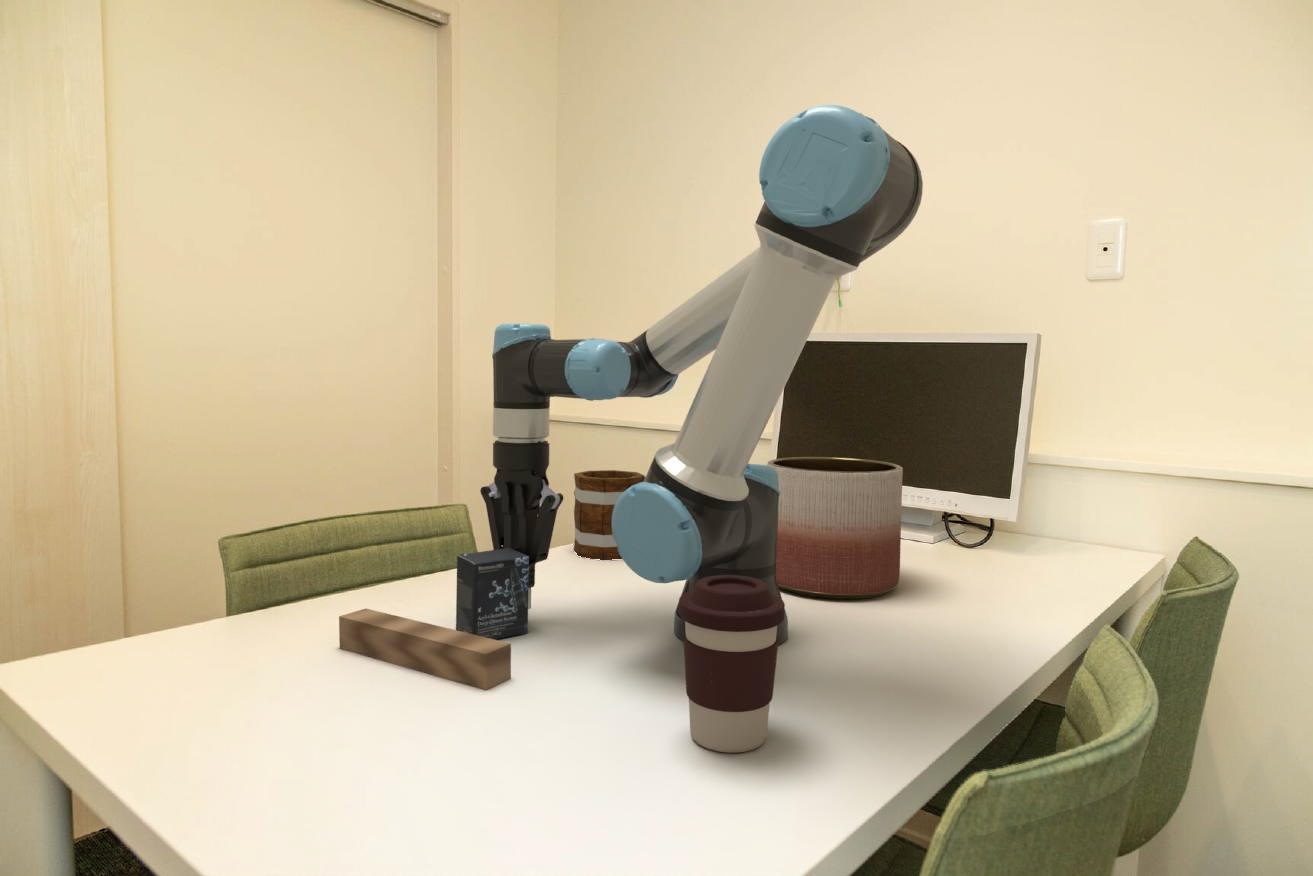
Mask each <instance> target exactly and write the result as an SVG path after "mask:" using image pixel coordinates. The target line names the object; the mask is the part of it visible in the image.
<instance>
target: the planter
mask: <svg viewBox="0 0 1313 876" xmlns="http://www.w3.org/2000/svg"><path fill="white" fill-rule="evenodd" d="M766 462H767V463H766V465H768V466H771V467H773V468H774V469H775V470H776V471H777V473H778V485H779V491H780V496H779V506H778V531H777V559H776V580H777V583H778V587H779V589H781V590H784V591H787V592H788V593H789V592H790V593H792V594H797V595H801V596H806V597H813V598H819V599H828V600H829V599H830V600H832V599H833V600H860V599H869V598H875V597H879V596H882V595H885V594H887V593H889V592H890V591H891V590H894V589H895V588H896V587H897V586H898V585H899V582H900V581H899V580H900V573H901V571H900V570H901V543H902V542H901V541H902V539H901V536H902V535H901V534H902V531H901V530H902V499H903V497H902V495H903V475H904V474H903V473H904V471H903V470H904V469H903V467H902V466H901V465H898V464H895V463H891V462H887V461H879V460H873V459H865V458H864V459H863V458H862V459H861V458H851V457H835V456H834V457H831V456H830V457H829V456H799V457H798V456H797V457H795V456H794V457H782V458H781V457H780V458H775V459H771V460H769V461H766Z"/></svg>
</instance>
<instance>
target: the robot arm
mask: <svg viewBox="0 0 1313 876" xmlns="http://www.w3.org/2000/svg"><path fill="white" fill-rule="evenodd" d="M759 166H760V167H759V173H758V178H759V184H760V186H761V195H762V196H763V197H762V198H763V200H764V202H763V204H762V206H761V209H760V211H759V213H758V215H757V219H756V220H755V223H754V228H755V231H756V234H757V236H758V239H759V245H760V246H758V247H757V248H756V249H755V250H754V251H751V253H750V254H748V255H746V256H745V257H744V258H742V259H741V260H740V261H738V262H737V263H736V264H734V265H733V266H732V267H730V268H729V269H728V270H726V271H725V272H723V273H722V274H721V275H719V276H718V277H717V278H715V279H714V280H713V281H711V282H710V283H708V284H707V285H706V286H705V287H702V289H701V290H699V291H698V292H696V293H695V294H693V295H692V296H691V297H690V298H688V299H687V300H685V301H684V302H682V303H681V304H680V305H679V306H677V307H676V308H674V309H673V310H672V311H670V312H669V313H668V314H666V315H665V316H664V317H662V318H661V319H660V320H658V321H657V322H655V323H654V324H653V325H651V326H650V327H649V328H647V329H646V330H645V331H643V332H641V334H639V335H638V336H637V337H635V338H634V339H632V340H630V341H626V342H625V341H615V340H610V339H609V340H608V339H603V338H595V337H593V338H586V339H585V338H582V339H581V338H580V339H576V338H574V339H554V338H552V337H551V329H550V327H549V326H548V325H546V324H538V323H501V324H499V325H497V327H496V328H495V330H494V338H493V349H492V350H493V352H492V353H491V356H492V365H493V366H492V367H493V371H492V372H493V373H492V374H493V375H492V376H493V383H492V385H493V387H492V388H493V408H492V412H493V413H492V415H493V416H492V435H493V436H494V437H495V438H497V439H496V440H494V442H493V443H492V466H493V467H494V468H495V469H496V472H495V475H494V477H493V481H492V483H489V485H486V486H482V487H481V488H480V494H481V497H482V499H483V500H484V503H485V507H486V513H487V519H488V526H489V531H490V535H491V542H492V548H493V549H492V550H498V549H504V548H511V549H514V550H516V551H518V552H520V553H522V554H525V555H527V556H529V584H528V610H530V609H532V588H534V587H535V584H536V577H535V576H536V565H537V563H540V562H543V561H546V560H547V559H548V556H549V553H550V548H551V542H552V538H553V531H554V528H555V523H556V518H557V512H558V510H559V509H560V507H561V504H562V503H563V501H564V495H563V494H562V493H561V492H560V493H559V492H558V493H556V492H554V490H552V488H550V486H549V485H550V482H549V479H548V475H547V470H548V468H549V466H550V443H549V441H548V440H546V438H548V437H549V436H550V407H551V398H557V397H558V398H566V399H567V398H568V399H580V400H586V401H590V402H591V401H592V402H593V401H604V400H614V399H616V398H645V399H646V398H653V397H655V396H661V395H664V394H666V393H667V392H669V391H670V390H672V389H673V387H674V386H675V384H676V382H677V380H678V378H679V375H680V374H681V373H683V372H684V371H686V370H687V369H689V368H690V367H692V366H693V365H695V364H696V363H698V362H700V361H701V360H702V359H704V358H705V357H707V356H709V355H710V354H711V353H712V352H713V355H712V358H711V359H710V362H709V364H708V367H707V369H706V370H705V373H704V376H703V377H702V380H701V382H700V385H699V386H698V390H697V391H696V393H695V396H694V398H693V400H692V403H691V405H690V408H689V409H688V412H687V414H686V417H685V419H684V421H683V423H682V425H681V428H680V430H679V432H678V434H677V437H676V439H675V441H674V442H673V443H671V444H669V445H665V446H662V447H660V448H659V449H658V450H657V451H656V452H655V454H654V455H653V459H652V462H651V464H650V466H649V468H648V470H647V472H646V475H645V477H644V482H640V483H638V484H635V485H633V486H631V487H630V488H629V489H627V490H626V491H624V492H623V493H622V494H621V496H620V497H619V498H618V500H617V502H616V504H615V506H614V509H613V514H612V533H613V538H614V540H615V541H616V543H617V546H618V552H619V554H620V556H621V557H622V559H623V560H622V561H623V562H624V563H625V565H626V566H627V567H628V568H629V569H630V570H631V571H632V572H634V573H635V574H636V575H637V576H639V577H640V578H642V579H644V580H646V581H649V582H651V583H656V584H669V583H673V582H680V581H682V582H683V581H685V582H684V585H683V589H682V592H681V594H680V597H681V596H682V595H683V594H684V593H686V592H688V591H691V590H693V589H694V587H695V584H696V582H697V581H698V580H700V579H702V578H705V577H710V576H717V575H738V576H746V577H752V578H755V579H758V580H761V581H763V582H765V583H766V584H767V585H768V587H769V590H770V592H771V594H774V595H776V596H778V597H780V598H781V599H782V600H783V598H782V597H783V596H782V594H781V592H780V588H779V587H778V583H777V580H776V559H777V531H778V506H779V496H780V491H779V485H778V473H777V471H776V470H775V469H774V468H773V467H771V466H768V465H767V464H766V465H765V464H756V463H750V460H751V458H752V456H753V454H754V452H755V449H756V447H757V445H758V444H759V441H760V439H761V437H762V436H763V433H764V432H765V429H766V426H767V424H768V422H769V421H770V419H771V416H772V413H773V412H774V410H775V408H776V407H777V406H776V405H777V404H778V401H779V400H780V397H781V395H782V393H783V391H784V390H785V387H786V384H787V383H788V381H789V378H790V376H791V374H792V373H793V370H794V367H795V365H796V364H797V361H798V360H799V357H800V355H801V353H802V351H803V349H804V346H805V345H806V342H807V341H808V339H809V337H810V335H811V332H812V331H813V328H814V326H815V324H816V322H817V320H818V317H819V315H820V314H821V311H822V310H823V307H824V304H825V303H826V301H827V299H828V297H829V294H830V293H831V290H832V288H833V286H834V284H835V281H837V279H839V278H841V277H842V276H845V275H848V274H849V273H852V272H854V271H857V269H858V268H859V266H860V264H861V263H863V262H865V261H866V260H867V259H868V258H870V257H872V256H873V255H874V254H876V253H878V252H879V251H881V250H883V249H884V248H885V247H886V246H889V245H890V244H891V243H892V242H894V241H895V240H896V239H897V238H898V237H899V236H900V235H902V234H903V233H904V231H906V229H908V227H909V226H910V224H911V223H912V222H913V220H914V218H915V217H916V215H917V213H918V211H919V208H920V206H921V202H922V197H923V189H924V187H923V186H924V183H923V176H922V171H921V168H920V165H919V163H918V161H917V159H916V157H915V156H914V155H913V153H912V152H911V151H910V150H909V149H908V148H907V147H906V146H905V145H904V144H902V143H901V142H900V141H898V140H896V139H895V138H893V136H891V135H890V134H889V133H888V132H887V131H885V130H884V129H883V128H882V126H880V124H879V123H878V122H877V121H875V120H874V119H873V118H871V117H869V116H866V115H865V114H863V113H862V112H858V111H856V110H854V109H851V108H849V107H847V106H843V105H842V106H841V105H837V104H823V105H818V106H813V107H810V108H808V109H806V110H803V111H802V112H800V113H798V114H796V115H794V116H792V117H791V118H790V119H788V120H787V121H786V122H784V123H783V124H782V125H781V127H779V128H778V129H777V131H775V133H774V135H773V136H772V137H771V138H770V140H769V142H768V143H767V146H766V147H765V149H764V151H763V153H762V157H761V161H760V165H759ZM673 617H674V618H673V632H674V635H676V636H677V637H678V638H679V639H680V640H681V641H683V642H684V633H685V632H686V629H685V621H684V620H683V619H682V618H681V617H680V616H679V601H678V603H677V605H676V608H675V612H674V616H673ZM788 629H789V619H788V614H787V611H786V610H785V612H784V620H783V622H782V623H781V624H779V625H777V634H776V636H777V638H778V646H779V645H781V644H783V643H784V642H785V641H786V640H788V637H789V636H788V635H789V634H788V633H789V630H788Z"/></svg>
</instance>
